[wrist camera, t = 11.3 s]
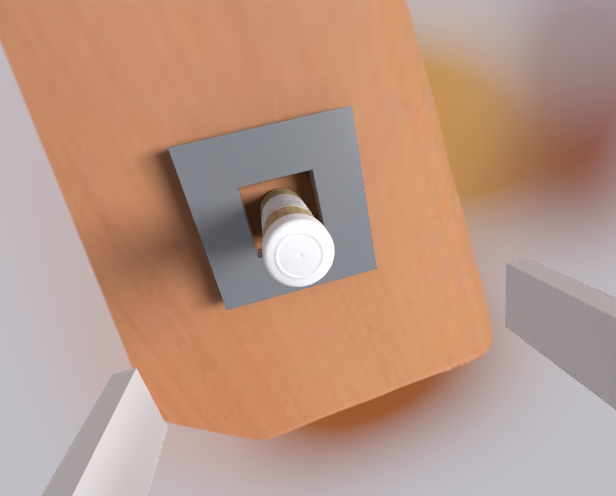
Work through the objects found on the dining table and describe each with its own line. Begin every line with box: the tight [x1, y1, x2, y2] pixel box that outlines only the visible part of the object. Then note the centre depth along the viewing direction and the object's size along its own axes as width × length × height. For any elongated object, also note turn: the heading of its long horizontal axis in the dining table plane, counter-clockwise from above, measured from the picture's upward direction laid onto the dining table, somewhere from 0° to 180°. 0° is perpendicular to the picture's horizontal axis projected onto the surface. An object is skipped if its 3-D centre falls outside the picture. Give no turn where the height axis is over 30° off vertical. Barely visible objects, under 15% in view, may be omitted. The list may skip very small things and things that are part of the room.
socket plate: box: [168, 106, 377, 310], centre depth 31 cm, size 16×16×2 cm
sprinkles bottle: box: [260, 188, 334, 287], centre depth 26 cm, size 5×5×14 cm
